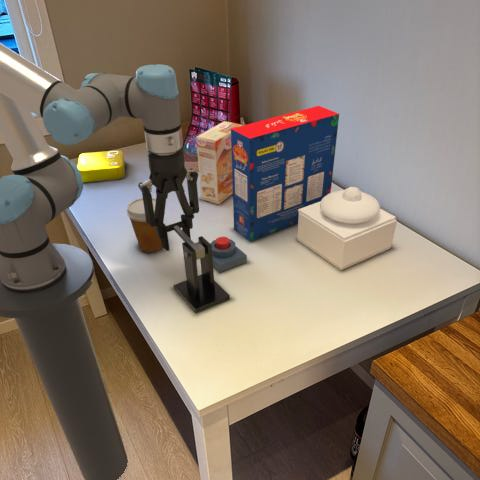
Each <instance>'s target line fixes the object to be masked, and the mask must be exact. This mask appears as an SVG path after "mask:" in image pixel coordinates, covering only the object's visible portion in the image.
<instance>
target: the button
mask: <svg viewBox="0 0 480 480" xmlns="http://www.w3.org/2000/svg"><path fill="white" fill-rule="evenodd" d="M229 239H230V238H229V237H227V236H218V237H217V238H216V239H214V240H215V245H216V248H217V249H220V250H224V249H228V248H229V247H230V240H229Z"/></svg>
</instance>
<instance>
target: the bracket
mask: <svg viewBox="0 0 480 480" xmlns="http://www.w3.org/2000/svg"><path fill="white" fill-rule="evenodd" d="M197 242H199V243H200V244H201V245H202V246H203V247H204V248H205V257H203V258H201V259H199V261H200V262H199V264H200V273H201V274H199V273H198V272H199V271H198V263H197V262H198V260H196V251H195V250H194V249H193V248H192V247H191V246H190V245H189V244H188V243H187V242H184V241H183V242H182V243H181V246H182V255H183V262H184V263H183V265H184V271H185V280H183V281H180V282H178V283H175V284H173V290H174V291H175V292H176V293H177V294H178V295H179V296H180V297H181V299H182V300H183V301H184V302H185V303H186V304H187V305H188V306H189V307H190V309H191V310H192V311H193V312H194V313H195V314H198V313H200V312H203V311H205V310H208V309H210V308H212V307H215V306H217V305H220V304H222V303H224V302H227V301H229V300H231V295H230V294H229V293H228V292H227V291H226V290H225V289H224V288H223V287H222V286H221V285H220V284H219V283H218V282H217V281H216V280H215V273H214V272H215V271H214V266H213V256H212V245H211V244H210V243H211V242H209V241H208V240H207V239H206V238H205V237H204V236H202V235H201V236H198V237H197Z"/></svg>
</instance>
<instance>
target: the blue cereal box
mask: <svg viewBox="0 0 480 480" xmlns="http://www.w3.org/2000/svg"><path fill="white" fill-rule="evenodd" d="M339 119H340V113H339V112H336V111H333V110H331V109H329V108H326V107H323V106H320V105H316V106H312V107H308V108H303V109H301V110H297V111H293V112H289V113H284V114H282V115H278V116H274V117H270V118H265V119H263V120H259V121H255V122H251V123H248V124H247V123H246V124H242V125H243V126H239V127H235V128H232V129H231V151H232V181H233V194H232V208H233V210H232V211H233V230H234V231H235V232H236V233H238V234H239V235H241V236H242V237H243V238H244V239H246V241H248V242H250V243H252V242H254V241H257V240H259V239H262V238H265V237H267V236H270V235H272V234H276V233H277V232H280V231H283V230H285V229H289V228H291V227H293V226H295V225H298V218H299V212H298V209H301V208H303V207H306V206H309V205H312V204H315V203H317V202H320V201H321V200H322V199H323V198H324V197H325V196H326V195H328V194H330V193H332V185H333V184H332V183H333V174H334V166H335V158H336V157H335V156H336V149H337V148H336V147H337V139H338V130H339Z"/></svg>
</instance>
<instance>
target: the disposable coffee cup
mask: <svg viewBox="0 0 480 480" xmlns="http://www.w3.org/2000/svg"><path fill="white" fill-rule="evenodd" d="M152 201H153V209H154V213H155V204H156V197H152ZM126 215H127V216H128V218H129V220H130V224H131V226H132V229H133V232H134V235H135V238H136V241H137V244H138V247H139V249H140V250H141V251H142V252H145V253H154V252H157V251H159V250H162V248H163V247H162V244H161V239H160V238H159V237H158V236H157V235H156V228H155V226H154V227H151V226H150V225H149V224H148V223H147V222H146V217H145V210H144V203H143V197H140V198H137V199H133V200H132V201H130V202H129V203H128V205H127V209H126Z"/></svg>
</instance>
